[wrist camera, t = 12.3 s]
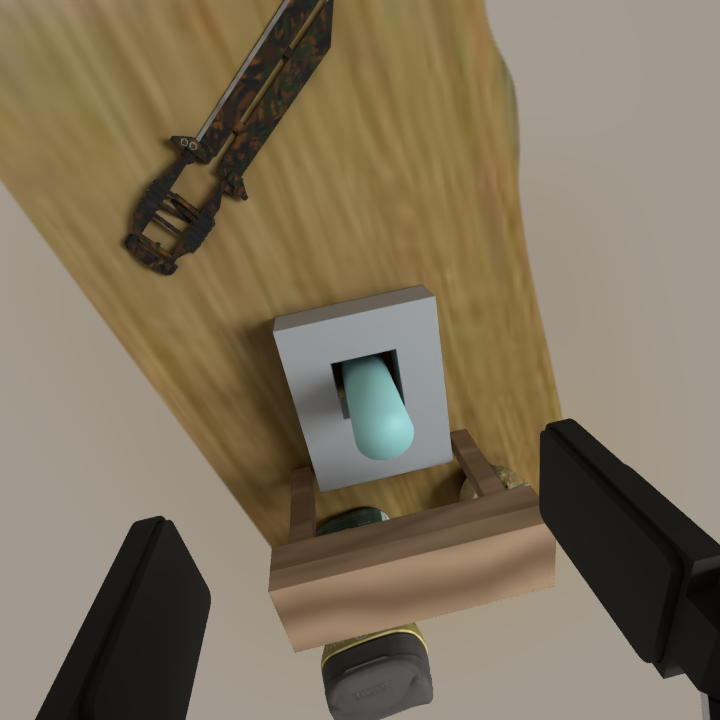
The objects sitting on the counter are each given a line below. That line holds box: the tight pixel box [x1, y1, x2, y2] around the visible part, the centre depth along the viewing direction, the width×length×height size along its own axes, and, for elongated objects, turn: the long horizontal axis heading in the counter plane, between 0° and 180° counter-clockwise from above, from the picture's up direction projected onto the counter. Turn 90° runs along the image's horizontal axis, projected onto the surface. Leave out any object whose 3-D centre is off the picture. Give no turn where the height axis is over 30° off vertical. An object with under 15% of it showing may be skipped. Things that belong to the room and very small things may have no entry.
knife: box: [124, 0, 333, 275], centre depth 30 cm, size 25×6×1 cm, turn 134°
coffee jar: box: [316, 508, 433, 720], centre depth 41 cm, size 10×8×19 cm
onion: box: [459, 466, 529, 502], centre depth 45 cm, size 8×8×8 cm
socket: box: [273, 285, 453, 493], centre depth 39 cm, size 18×14×4 cm
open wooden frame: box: [268, 429, 556, 652], centre depth 36 cm, size 7×20×18 cm, turn 101°
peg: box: [341, 353, 414, 460], centre depth 34 cm, size 4×4×12 cm
